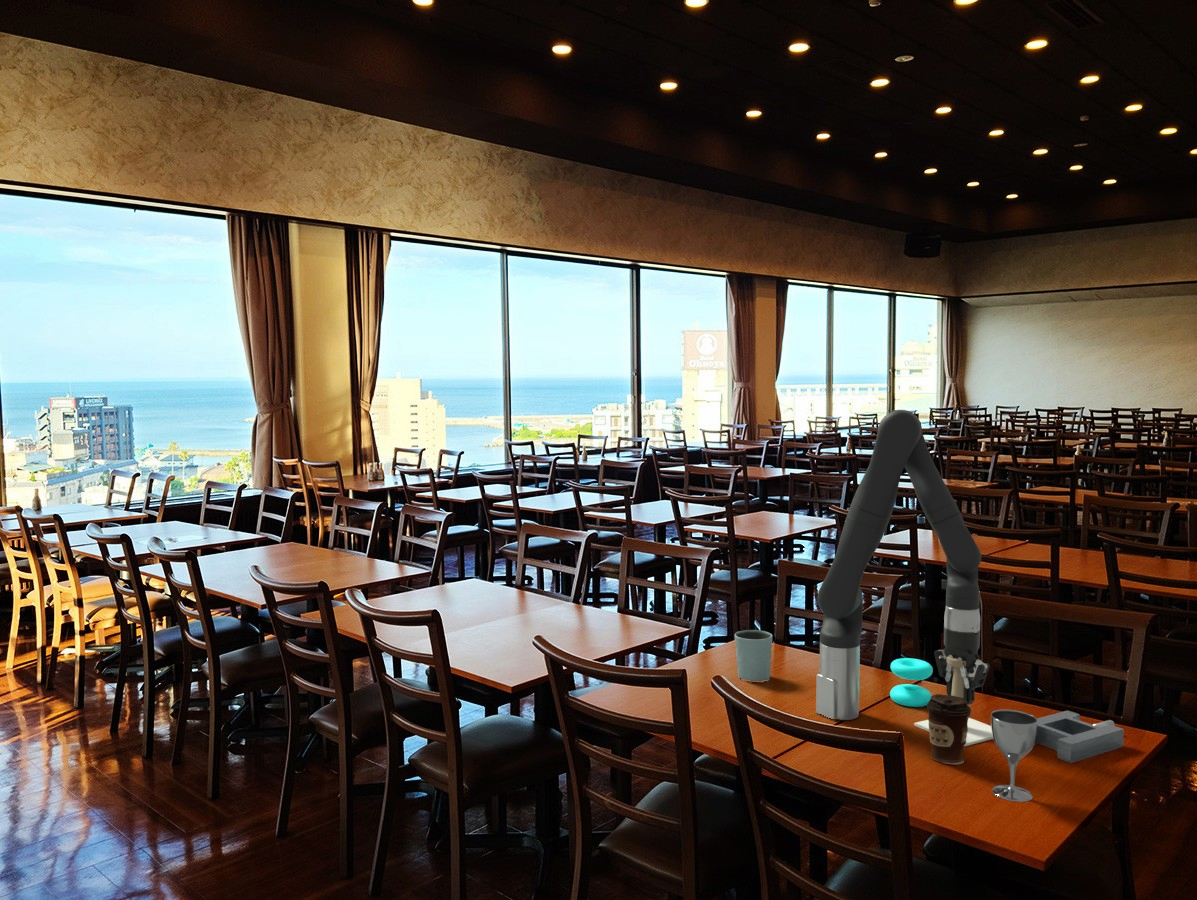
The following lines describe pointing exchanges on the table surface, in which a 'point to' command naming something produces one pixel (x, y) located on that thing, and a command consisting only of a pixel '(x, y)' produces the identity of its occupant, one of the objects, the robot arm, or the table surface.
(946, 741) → the coffee cup
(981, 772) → the table surface
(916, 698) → the donuts
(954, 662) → the handle
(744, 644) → the grey-green tapered cup
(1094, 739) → the vise
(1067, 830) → the table surface
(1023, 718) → the wine glass
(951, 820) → the table surface
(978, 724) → the mat
